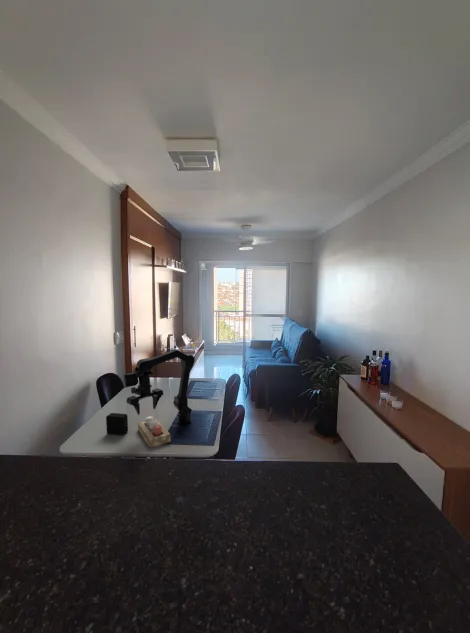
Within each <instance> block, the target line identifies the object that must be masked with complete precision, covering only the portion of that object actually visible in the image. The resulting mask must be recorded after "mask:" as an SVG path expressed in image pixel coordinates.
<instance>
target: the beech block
mask: <svg viewBox="0 0 470 633" xmlns="http://www.w3.org/2000/svg"><path fill="white" fill-rule="evenodd" d="M153 421H157V425H160V426H161V430H162V435H159V436H153V431H149V426H146V420H145V421H142V422H137V430H138V432H139V434H140V435H141V437H142V438H143V439H144V440H145V442H146V443H147V444H148V446H149V447H150V448H154V447H159V446H161V445H164V444H165V445H166V444H168V443H171V433H170V432H169V431H168V430H167V429H166V428H165V426H163V425H162V424H161V423H160V421H159V420H158V419H157V418H153Z"/></svg>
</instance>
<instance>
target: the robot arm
mask: <svg viewBox="0 0 470 633" xmlns="http://www.w3.org/2000/svg"><path fill="white" fill-rule="evenodd" d="M175 358H177V359H180V365H181V375H180V381H179V388H178V393H177V395H174V396H173V402H172V404H173V406H174V407H175V409H177V415H176V416H177V420H176V422H177V423H179V425H181V426H185V425H188V424H191V423H192V420H191V413H192V411H193V410H192V408H191V407H189V404H188V403H189V402H188V401H189V400H188V396H187V394H188V388H189V383H190V382H189V381H190V374H191V370H192V369H193V367H194V365H195V361H196V358H195V356H193V355H191V354H190V353H183V352H182V351H180V350H178V349H176V348H175V349H172V350H169V351H167V352H164V353H161V354H159V355H155V356H153V357H148V358H142V359H139V360H138V361H137V363H136V365H135V368H134V370H133V371H132V372H131V373H124V374H123V379H122V383H123V387H124V388H130V393H131V394H132V395H131V396H129V397H127V398H126V403H127V405H130V406H133V407H134V409H135V412H136V414H137V415H138V416H139V415H140V414H141V412H140V411H141V410H140V409H141V408H140V402H139V401H141V400H143V399H147V398H150V397H151V398H152V407H153V408H152V409H153V410H155V409H156V408H157V405H158V403H159V401H160V399H161V398H162V396H164V391H163V390H162V389H160V388H159V387H157V388H154V389H152V387H153V385H152V384H151V377H150V376H151V375H154V372H153V371H152V369H153V368H154V367H156V366H157V365H159V364H163V363H164V362H165V363H166V362H167V361H170V360H173V359H175ZM136 386H137V387H136ZM134 394H135V395H134ZM136 395H137V396H136Z"/></svg>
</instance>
